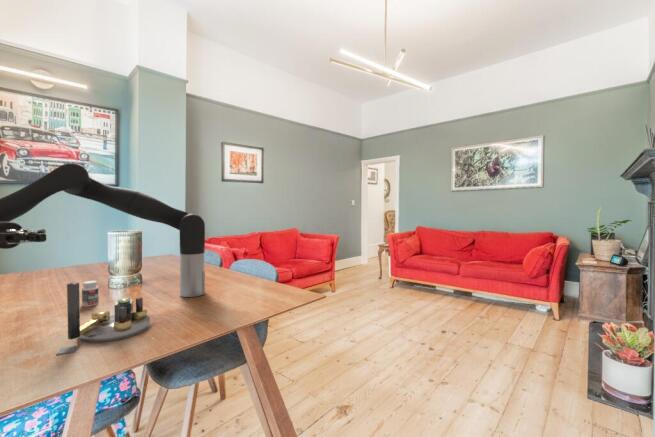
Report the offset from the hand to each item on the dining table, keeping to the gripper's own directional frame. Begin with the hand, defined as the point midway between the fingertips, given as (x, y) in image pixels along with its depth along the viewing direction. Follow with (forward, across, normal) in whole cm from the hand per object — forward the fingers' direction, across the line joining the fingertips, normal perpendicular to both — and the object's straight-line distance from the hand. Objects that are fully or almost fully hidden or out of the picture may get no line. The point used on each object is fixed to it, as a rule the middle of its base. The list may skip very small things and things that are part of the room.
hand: (42, 237), depth 80 cm
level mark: (+12, -3, +28) cm, 30 cm away
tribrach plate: (+12, +10, +28) cm, 32 cm away
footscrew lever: (+8, +5, +25) cm, 27 cm away
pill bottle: (-17, +25, +29) cm, 42 cm away
